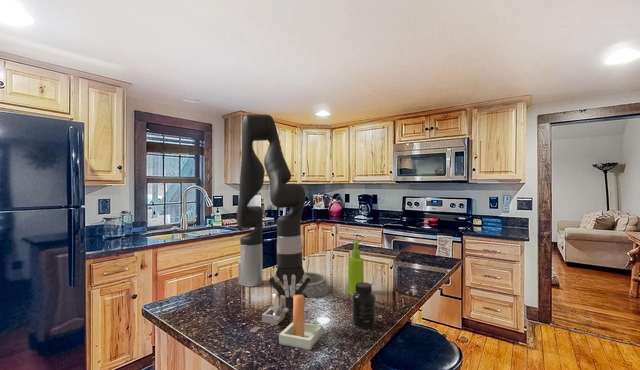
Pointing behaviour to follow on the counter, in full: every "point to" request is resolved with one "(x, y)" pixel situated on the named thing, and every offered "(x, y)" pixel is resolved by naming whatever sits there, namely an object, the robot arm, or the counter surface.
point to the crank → (277, 305)
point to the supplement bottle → (363, 306)
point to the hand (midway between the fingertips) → (290, 308)
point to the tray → (306, 342)
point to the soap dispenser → (355, 268)
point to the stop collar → (268, 317)
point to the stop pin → (298, 315)
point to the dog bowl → (313, 285)
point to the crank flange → (268, 309)
